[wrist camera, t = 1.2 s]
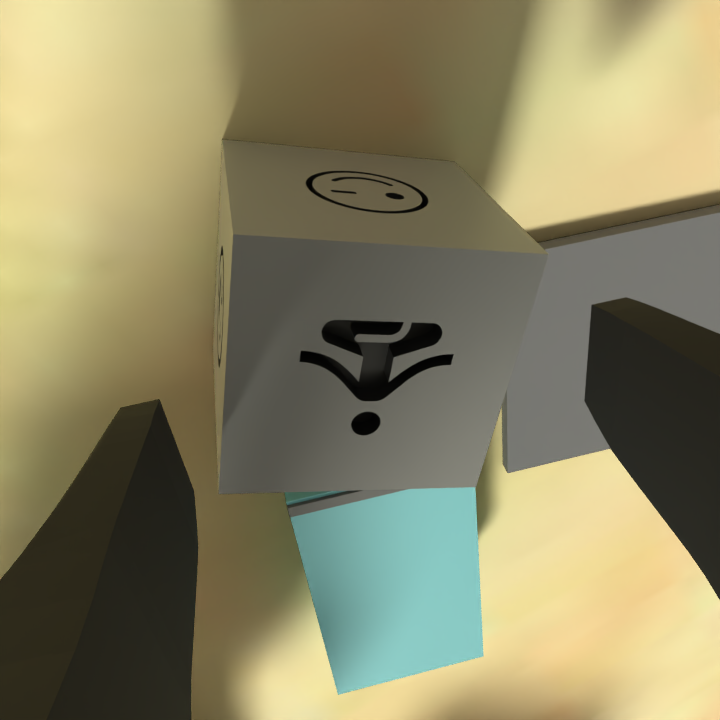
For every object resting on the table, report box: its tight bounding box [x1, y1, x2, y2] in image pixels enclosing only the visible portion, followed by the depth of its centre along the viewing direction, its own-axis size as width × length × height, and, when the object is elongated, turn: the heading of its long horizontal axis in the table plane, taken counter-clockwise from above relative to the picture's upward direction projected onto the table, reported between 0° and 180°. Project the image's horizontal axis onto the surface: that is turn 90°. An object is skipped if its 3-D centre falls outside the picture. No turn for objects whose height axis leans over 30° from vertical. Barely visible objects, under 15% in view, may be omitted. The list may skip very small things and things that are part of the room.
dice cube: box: [213, 139, 549, 494], centre depth 14 cm, size 5×5×5 cm
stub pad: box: [502, 205, 720, 473], centre depth 19 cm, size 7×7×1 cm
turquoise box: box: [285, 487, 483, 695], centre depth 19 cm, size 8×4×3 cm, turn 8°
